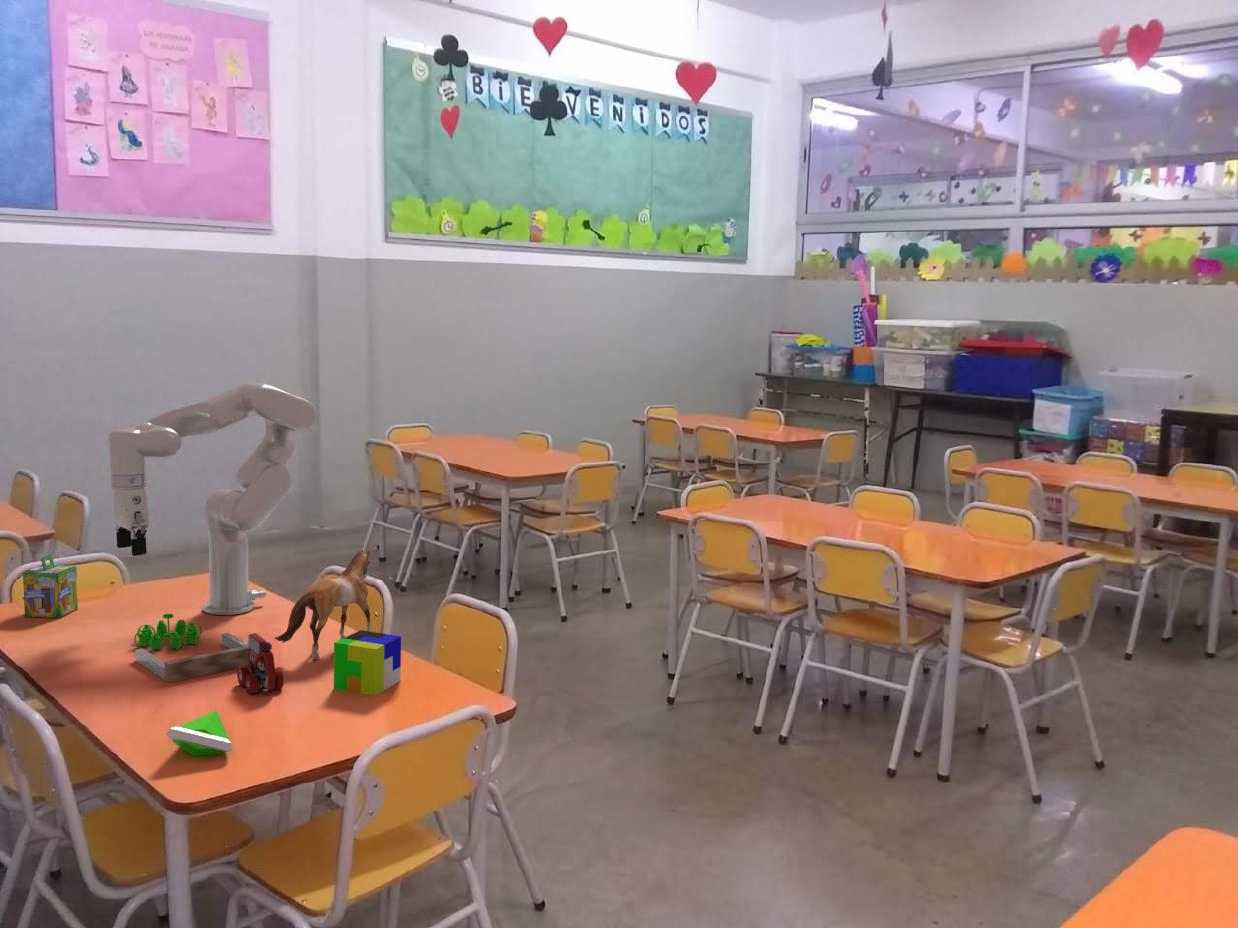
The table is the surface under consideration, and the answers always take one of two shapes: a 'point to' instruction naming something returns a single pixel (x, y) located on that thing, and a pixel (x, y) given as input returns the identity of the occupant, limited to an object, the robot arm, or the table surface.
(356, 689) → the puzzle toy
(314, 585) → the horse figurine
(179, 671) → the walnut bay
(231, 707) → the table surface
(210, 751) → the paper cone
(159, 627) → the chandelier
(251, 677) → the toy fire truck
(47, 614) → the chalk box
